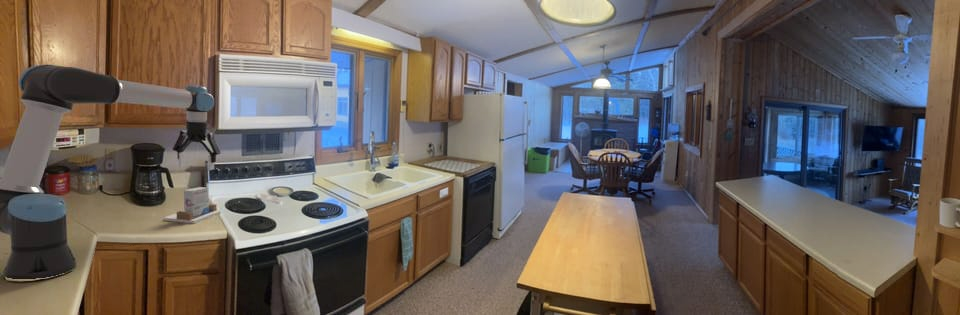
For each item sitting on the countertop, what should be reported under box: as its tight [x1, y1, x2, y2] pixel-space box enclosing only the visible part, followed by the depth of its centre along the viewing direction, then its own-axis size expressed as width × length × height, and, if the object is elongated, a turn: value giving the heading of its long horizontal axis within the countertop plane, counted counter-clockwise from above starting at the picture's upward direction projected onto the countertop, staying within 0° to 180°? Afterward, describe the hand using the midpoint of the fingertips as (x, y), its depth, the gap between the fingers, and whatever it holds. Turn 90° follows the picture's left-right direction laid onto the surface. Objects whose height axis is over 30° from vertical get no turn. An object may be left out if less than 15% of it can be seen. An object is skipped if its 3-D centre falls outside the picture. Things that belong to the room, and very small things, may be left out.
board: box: [162, 203, 221, 224], centre depth 188 cm, size 17×14×4 cm
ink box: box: [183, 186, 210, 217], centre depth 188 cm, size 9×5×12 cm, turn 168°
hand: (196, 168), depth 185 cm, fingers open, 13 cm apart
